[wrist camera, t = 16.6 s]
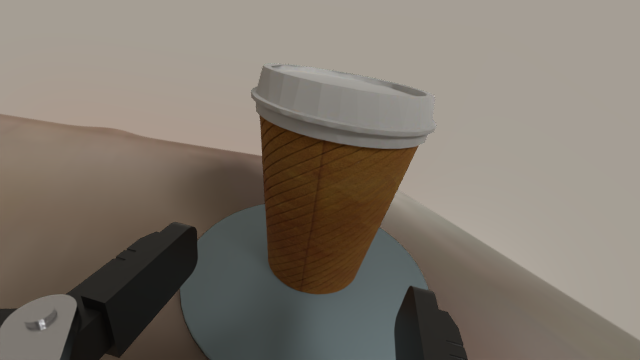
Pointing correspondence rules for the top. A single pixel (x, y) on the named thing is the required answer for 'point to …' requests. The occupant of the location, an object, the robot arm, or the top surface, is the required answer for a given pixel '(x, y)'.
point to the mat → (290, 300)
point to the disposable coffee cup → (332, 166)
